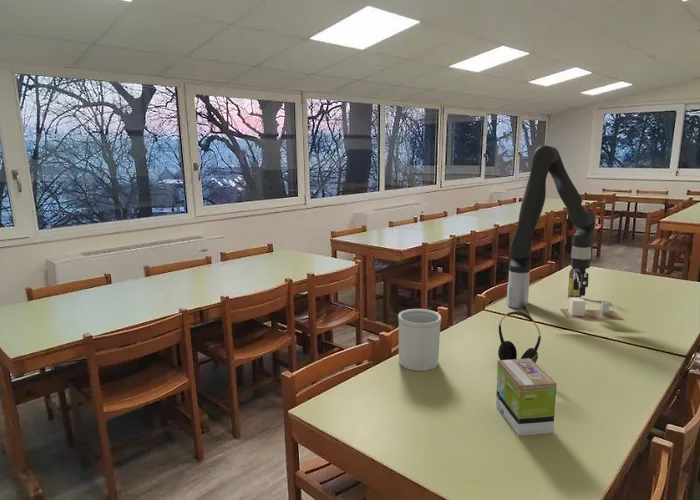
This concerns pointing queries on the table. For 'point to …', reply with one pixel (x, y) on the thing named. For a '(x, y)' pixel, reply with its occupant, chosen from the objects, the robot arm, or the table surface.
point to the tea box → (526, 396)
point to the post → (604, 308)
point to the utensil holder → (419, 339)
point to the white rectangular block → (576, 306)
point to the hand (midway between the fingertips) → (578, 292)
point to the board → (593, 315)
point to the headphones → (508, 348)
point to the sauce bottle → (570, 288)
